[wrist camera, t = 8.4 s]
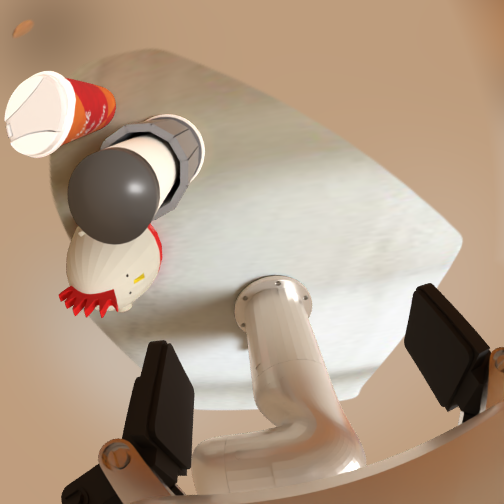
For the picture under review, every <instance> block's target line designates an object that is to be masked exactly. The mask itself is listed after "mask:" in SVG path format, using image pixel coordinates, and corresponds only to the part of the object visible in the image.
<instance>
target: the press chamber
mask: <svg viewBox="0 0 504 504" xmlns="http://www.w3.org/2000/svg"><path fill="white" fill-rule="evenodd" d="M149 132H151V133H153V134H155V135H157V136H159V137H161V138H162V139H164V140H166V141H168V142H169V143H170V145H171V147H172V148H173V150H174V152H175V154H176V155H177V157H178V159H179V160H180V176H179V178H178V179H177V181H176V182H175V184H174V185H173V187H172V188H171V190H170V192H169V193H168V195H167V196H166V198H165V199H164V201H163V203H162V204H161V206H160V208H159V209H158V211H157V213H156V214H155V216H154V218H153V219H152V221H153V220H156V219H158V218H159V217H161V216H163V215H165V214H166V213H168V212H170V211H172V210H173V209H175V208H176V206H177V205H178V203H179V201H180V199H181V198H182V196H183V194H184V193H185V191H186V189H187V187H188V185H189V183H190V182H191V181H192V180H193V179H194V178H195V177H196V176H197V174H198V173H199V171H200V169H201V167H202V164H203V161H204V156H205V146H204V141H203V138H202V136H201V134H200V132H199V130H198V129H197V128H196V127H195V125H194V124H192V123H191V122H190V121H189V120H187V119H185V118H183V117H181V116H178V115H172V114H164V115H158V116H154V117H151V118H149V119H147V120H146V121H144V122H138V123H133V124H128V125H125V126H123V127H122V128H120V129H119V130H117V131H116V132H115V133H113V134H112V135H110V136H109V137H108V138H106V139H105V141H104V142H103V144H102V146H101V148H100V150H103V149H105V148H108V147H110V146H113V145H116V144H118V143H121V142H124V141H126V140H129V139H132V138H135V137H137V136H140V135H143V134H146V133H149ZM100 150H99V151H100Z"/></svg>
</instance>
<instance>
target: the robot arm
mask: <svg viewBox="0 0 504 504" xmlns="http://www.w3.org/2000/svg"><path fill="white" fill-rule="evenodd" d="M234 310H235V319H236V322H237V324H238V326H239V327H240V328H241V329H242V330H243V331H244V332H245V333H247V341H248V350H249V359H250V368H251V377H252V385H253V394H254V399H255V402H256V405H257V407H258V409H259V410H260V412H261V413H262V414H263V415H264V416H265V417H266V418H267V419H268V420H269V421H270V422H271V423H273V424H274V425H275V426H277V427H275V428H270V429H268V430H262V431H256V432H249V433H242V434H235V435H227V436H220V437H214V438H210V439H207V440H204V441H203V442H201V443H200V444H198V446H197V447H196V448H195V450H194V452H193V454H192V429H193V410H194V389H193V386H192V384H191V382H190V380H189V378H188V377H187V375H186V373H185V371H184V369H183V367H182V365H181V363H180V361H179V359H178V357H177V355H176V353H175V351H174V349H173V346H172V345H171V344H170V343H169V344H167V342H166V341H165V340H162V341H153V342H150V343H149V345H148V348H147V352H146V356H145V360H144V364H143V368H142V372H141V376H140V377H137V378H136V380H135V383H134V387H133V391H132V395H131V399H130V404H129V408H128V412H127V417H126V421H125V427H124V431H123V436H122V439H119V438H118V439H112V440H110V441H108V442H107V443H105V445H103V446H102V448H101V449H100V451H99V455H98V461H99V464H98V465H96V466H95V467H93V468H92V469H91V470H89V471H88V472H86V473H85V474H83V475H82V476H81V477H79V478H78V479H76V480H75V481H73V482H72V483H70V484H69V485H67V486H66V487H65V488H64V490H63V492H62V496H61V498H62V504H504V347H499V348H496V349H495V350H493V351H492V353H491V352H490V350H489V349H490V347H489V346H488V345H487V344H486V342H485V341H484V340H483V339H482V338H481V336H480V335H479V334H478V333H477V332H476V331H475V329H474V328H473V327H472V326H471V325H470V324H469V323H468V322H467V321H466V319H465V318H464V317H463V316H462V315H461V314H460V313H459V312H458V310H456V308H455V307H454V306H453V305H452V304H451V303H450V302H449V301H448V300H447V299H446V298H445V297H444V296H443V295H442V294H441V292H440V291H439V290H438V289H437V288H436V287H435V286H434V285H433V284H431V283H428V284H425V285H421V286H419V287H417V288H416V291H415V292H414V293H413V298H412V304H411V309H410V315H409V320H408V325H407V329H406V334H405V339H404V344H405V347H406V349H407V351H408V352H409V354H410V355H411V357H412V359H413V360H414V362H415V363H416V365H417V367H418V368H419V370H420V371H421V373H422V375H423V376H424V378H425V380H426V381H427V383H428V385H429V386H430V388H431V390H432V391H433V393H434V395H435V396H436V398H437V400H438V402H439V403H440V405H441V406H442V407H445V408H446V410H447V411H450V410H452V409H454V408H456V407H458V406H459V408H460V410H461V413H460V418H459V422H458V426H457V427H455V428H453V429H451V430H449V431H447V432H445V433H444V434H442V435H440V436H438V437H436V438H434V439H432V440H430V441H427V442H425V443H423V444H421V445H419V446H416V447H414V448H412V449H410V450H407V451H405V452H402V453H400V454H398V455H395V456H392V457H390V458H387V459H385V460H382V461H379V462H376V463H374V464H371V465H368V466H366V456H365V453H364V449H363V447H362V444H361V442H360V440H359V438H358V436H357V434H356V432H355V431H354V429H353V427H352V426H351V424H350V422H349V420H348V419H347V417H346V415H345V413H344V411H343V409H342V407H341V405H340V403H339V401H338V398H337V396H336V393H335V391H334V388H333V385H332V383H331V380H330V377H329V374H328V371H327V368H326V366H325V363H324V360H323V357H322V354H321V351H320V349H319V346H318V343H317V340H316V338H315V335H314V332H313V329H312V327H311V324H310V321H309V319H308V318H309V317H310V314H311V311H312V299H311V296H310V294H309V292H308V290H307V288H306V287H305V286H304V285H303V284H302V283H300V282H299V281H297V280H295V279H293V278H290V277H285V276H269V277H265V278H261V279H259V280H257V281H254V282H253V283H251V284H250V285H248V286H247V287H246V288H245V289H244V290H243V291H242V292H241V293H240V295H239V296H238V298H237V300H236V302H235V308H234ZM191 457H192V459H191ZM190 468H191V471H192V477H193V482H194V485H195V488H196V491H197V494H198V495H186V494H185V493H184V492H183V491H182V490H181V489H180V487H178V485H177V484H176V483H177V477H178V476H179V475H180V476H181V475H182V476H187V469H190Z"/></svg>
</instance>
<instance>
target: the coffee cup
mask: <svg viewBox="0 0 504 504" xmlns="http://www.w3.org/2000/svg"><path fill="white" fill-rule="evenodd" d="M115 109H116V102H115V98H114V96H113V94H112V93H111V92H110V91H109V90H107V89H106V88H103V87H100V86H97V85H93V84H90V83H86V82H82V81H77V80H73V79H69V78H64V77H63V76H62V75H60V74H58V73H56V72H53V71H44V72H40V73H37V74H35V75H33V76H31V77H30V78H28V79H27V80H25V81H24V82H22V83H21V84H20V85H19V86H18V87H17V88H16V90H15V91H14V93H13V94H12V96H11V98H10V99H9V102H8V105H7V108H6V112H5V122H6V124H7V126H6V130H7V134H8V138H10V140H11V143H10V144H11V146H12V147H13V148H14V149H15V150H16V151H18V152H19V153H21V154H23V155H27V156H29V157H33V158H41V157H45V156H47V155H50V154H51V153H53V152H54V151H56V150H57V149H58V148H59V147H60V146H61V145H64V144H66V143H68V142H71V141H73V140H75V139H78V138H80V137H83V136H85V135H88V134H90V133H92V132H95V131H97V130H100V129H102V128H103V127H105V126H106V125H107V124H108V123H109V122H110V121H111V120H112V118H113V116H114V113H115Z"/></svg>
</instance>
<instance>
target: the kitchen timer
mask: <svg viewBox="0 0 504 504" xmlns="http://www.w3.org/2000/svg"><path fill="white" fill-rule="evenodd" d="M161 260H162V245H161V242H160V240H159V237H158V234H157V232H156V231H155V229H154V228H153V226H152V225H151V224H149V226H148V228H147V229H146V230H145V231H144V232H143V233H142V234H141V235H140V236H139V237H137V238H136V239H134V240H132V241H130V242H127V243H124V244H117V245H113V244H106V243H102V242H99V241H97V240H95V239H93V238H91V237H90V236H88V235H87V234H86V233H85V232H83V230H82V229H81V228H80V227H79V226H78V227H77V228H76V230H75V233H74V235H73V238H72V240H71V243H70V246H69V250H68V253H67V264H66V270H67V271H66V272H67V277H68V281H69V285H70V287H68V288H67V289H65V290H64V291H63V292H61V293H60V294H59V298H60V300H61V301H63V300H65V299H66V301H65V305H66V308H67V309H68V308H70V307H71V306H73V305H74V306H73V312H74V315H75V316H76V315H77V314H78V313H79V312H80V311H81V310H82V309H83V308H84V307H85V308H84V312H85V315H86V317H88V316H89V315H90V314H91V312H92V311H93V310H94V309H95V310H99V311H100V314H101V318H103V317H104V315H105V313H106V311H112V310H116V311H117V312H125V311H127V310H129V309H131V308H132V305H133V304H132V302H133V301H135V300H136V299H137V298H138V297H140V296H141V295H142V294H143V293H144V292H145V291H146V290H147V289H148V288H149V287H150V285H151V284H152V282H153V281H154V279H155V278H156V276H157V274H158V271H159V269H160V265H161Z"/></svg>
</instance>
